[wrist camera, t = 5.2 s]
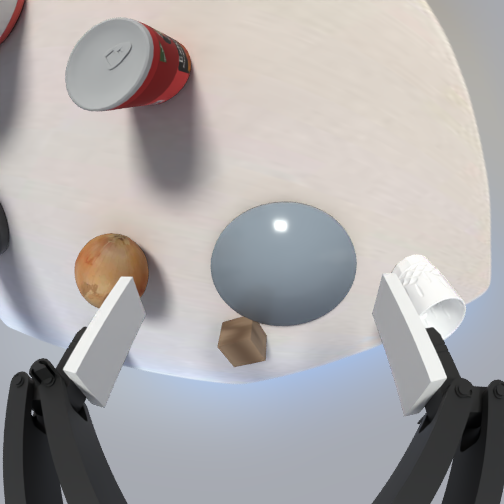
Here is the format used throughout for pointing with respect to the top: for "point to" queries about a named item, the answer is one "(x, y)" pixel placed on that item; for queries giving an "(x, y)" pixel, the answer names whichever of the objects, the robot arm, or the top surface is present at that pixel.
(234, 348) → the walnut block
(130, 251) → the onion
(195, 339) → the top surface
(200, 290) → the top surface
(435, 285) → the white cup
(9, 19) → the citrus juicer
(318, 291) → the plate
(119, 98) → the canned food
